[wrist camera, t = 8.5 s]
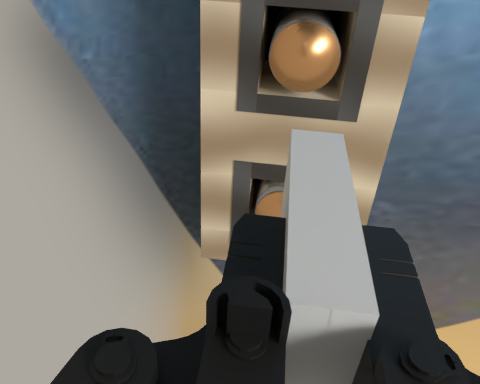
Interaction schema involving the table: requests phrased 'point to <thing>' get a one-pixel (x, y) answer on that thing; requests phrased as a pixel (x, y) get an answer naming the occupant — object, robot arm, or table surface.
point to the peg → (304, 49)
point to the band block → (295, 101)
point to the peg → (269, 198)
